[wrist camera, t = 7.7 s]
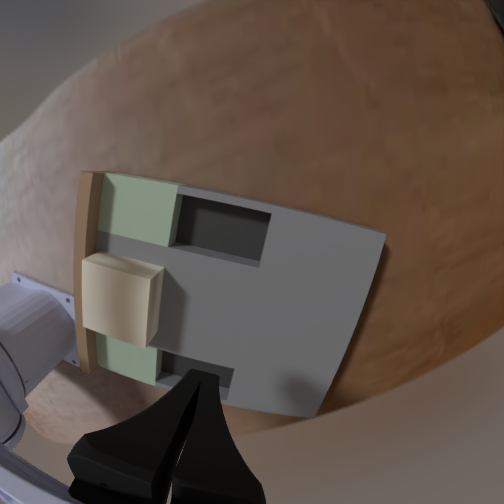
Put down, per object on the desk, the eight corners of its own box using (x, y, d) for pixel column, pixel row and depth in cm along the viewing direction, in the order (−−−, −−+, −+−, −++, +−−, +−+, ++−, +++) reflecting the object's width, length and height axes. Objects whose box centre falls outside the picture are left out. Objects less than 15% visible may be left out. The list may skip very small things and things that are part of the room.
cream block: (99, 312, 20) (83, 326, 18) (101, 250, 19) (82, 259, 16) (157, 331, 20) (145, 348, 18) (164, 267, 19) (150, 279, 16)
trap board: (98, 350, 23) (80, 370, 20) (107, 171, 19) (81, 171, 16) (311, 403, 23) (315, 430, 20) (376, 229, 19) (395, 239, 16)
